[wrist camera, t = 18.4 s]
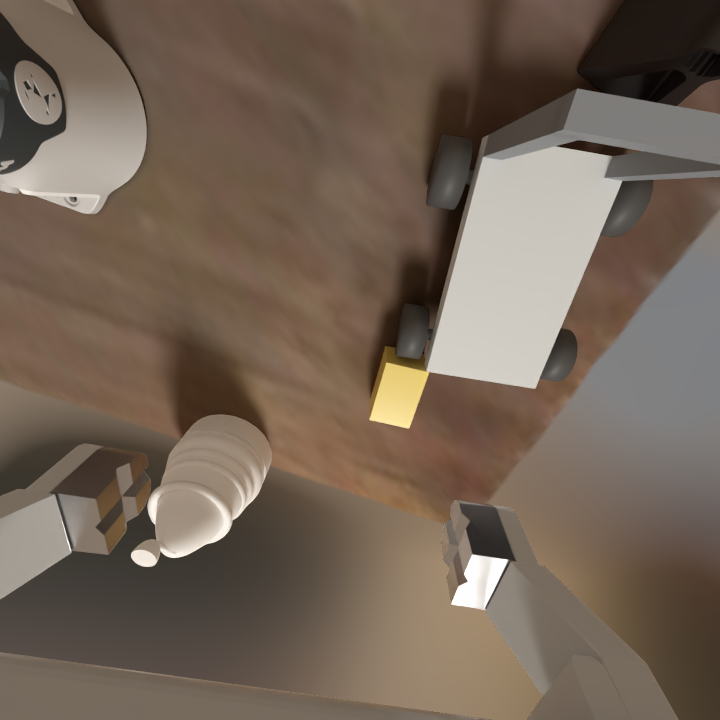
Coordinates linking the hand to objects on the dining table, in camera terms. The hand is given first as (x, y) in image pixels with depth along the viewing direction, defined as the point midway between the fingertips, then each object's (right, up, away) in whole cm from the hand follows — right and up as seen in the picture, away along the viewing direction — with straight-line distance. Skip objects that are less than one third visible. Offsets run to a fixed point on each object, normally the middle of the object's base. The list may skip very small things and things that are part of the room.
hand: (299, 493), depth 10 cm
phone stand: (+26, +30, +23) cm, 46 cm away
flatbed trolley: (+17, +14, +30) cm, 37 cm away
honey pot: (-18, -10, +43) cm, 48 cm away
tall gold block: (+6, +1, +37) cm, 38 cm away
